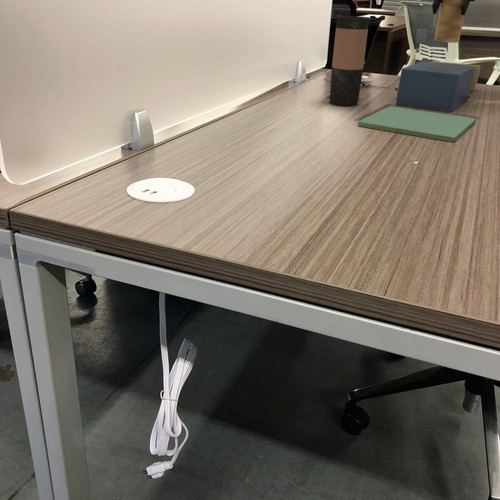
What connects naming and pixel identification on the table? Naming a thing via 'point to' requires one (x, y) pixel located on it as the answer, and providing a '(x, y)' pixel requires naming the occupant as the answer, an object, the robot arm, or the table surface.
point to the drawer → (475, 73)
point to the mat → (419, 123)
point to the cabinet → (434, 86)
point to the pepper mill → (449, 21)
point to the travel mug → (348, 60)
